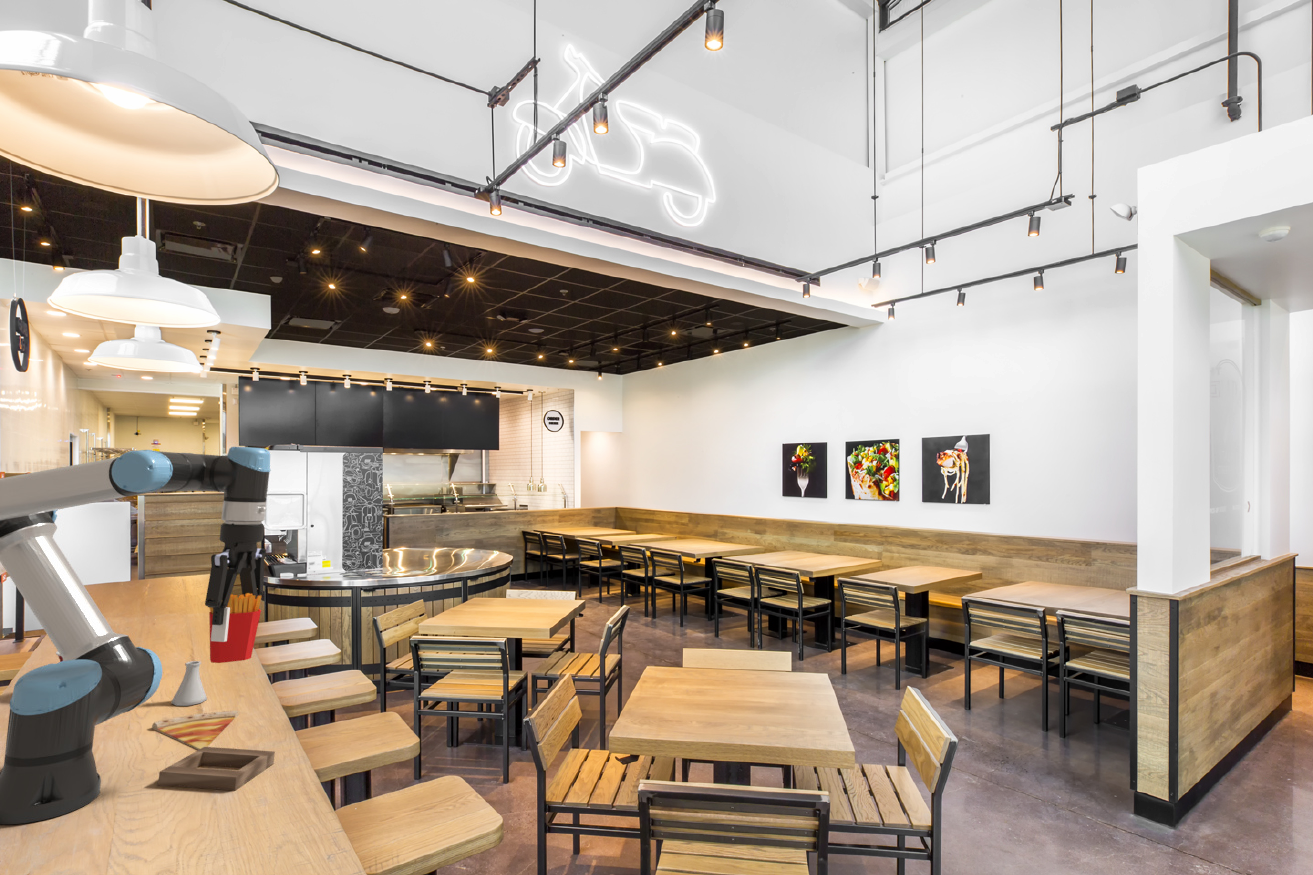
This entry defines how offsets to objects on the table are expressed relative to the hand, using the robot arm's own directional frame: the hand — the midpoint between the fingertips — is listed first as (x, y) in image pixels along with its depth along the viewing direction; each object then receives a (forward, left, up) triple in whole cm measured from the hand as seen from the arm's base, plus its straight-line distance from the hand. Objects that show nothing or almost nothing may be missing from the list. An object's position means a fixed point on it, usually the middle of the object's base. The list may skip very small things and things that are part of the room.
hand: (231, 636), depth 132 cm
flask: (+37, +34, -27) cm, 57 cm away
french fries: (0, 0, -5) cm, 5 cm away
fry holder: (0, 0, -27) cm, 27 cm away
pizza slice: (+18, +21, -28) cm, 39 cm away
